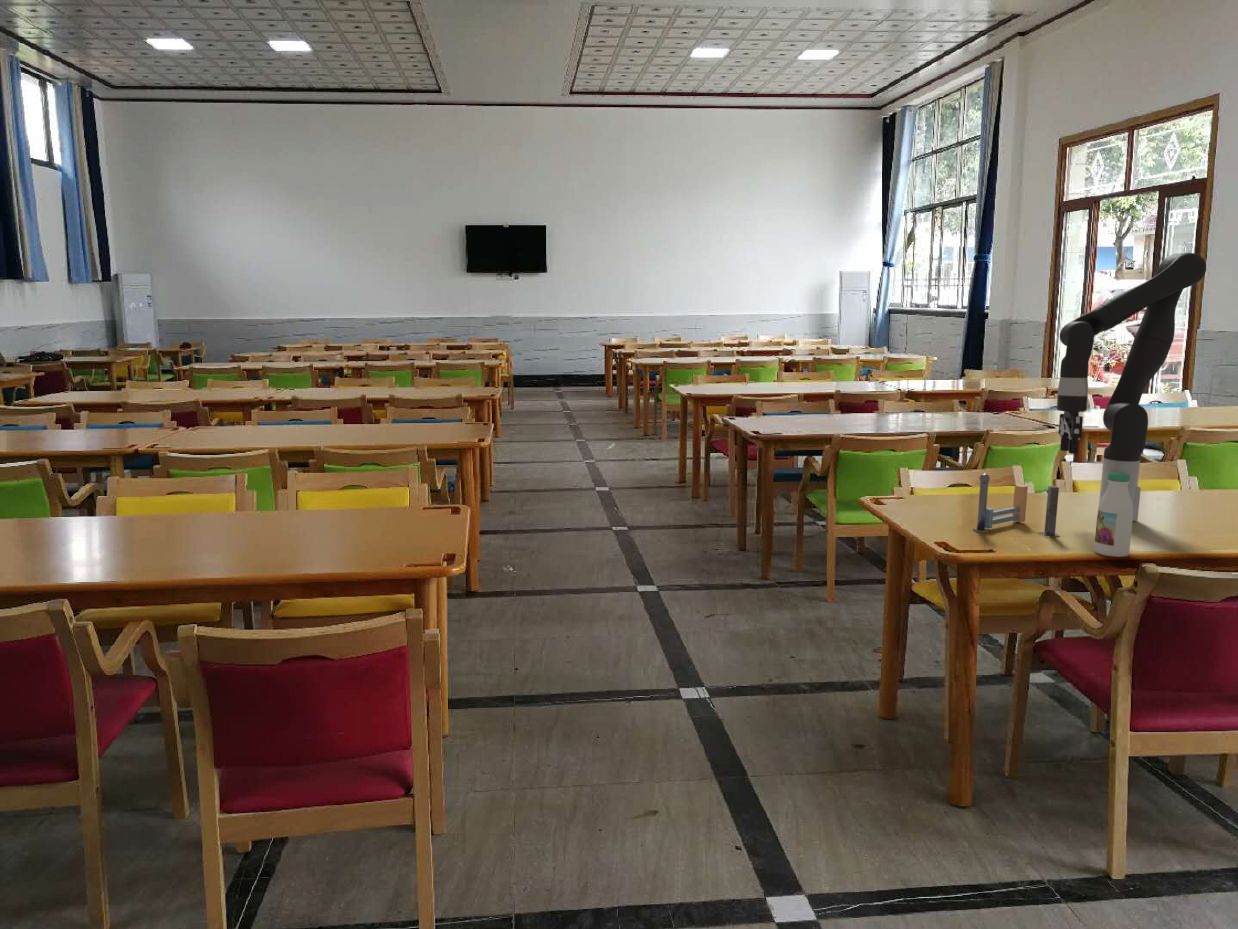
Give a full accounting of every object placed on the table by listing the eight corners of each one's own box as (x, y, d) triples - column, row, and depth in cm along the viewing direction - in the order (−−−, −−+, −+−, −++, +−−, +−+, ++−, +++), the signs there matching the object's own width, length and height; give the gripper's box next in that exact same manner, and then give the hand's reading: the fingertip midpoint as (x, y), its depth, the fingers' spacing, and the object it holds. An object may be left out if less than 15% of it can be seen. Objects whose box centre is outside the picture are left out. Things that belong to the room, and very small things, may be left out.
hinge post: (985, 529, 257) (989, 472, 254) (990, 532, 253) (995, 475, 250) (970, 529, 257) (974, 472, 254) (975, 532, 253) (980, 475, 250)
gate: (989, 528, 255) (992, 492, 253) (982, 527, 257) (984, 490, 255) (1024, 521, 264) (1027, 486, 262) (1017, 519, 266) (1019, 484, 264)
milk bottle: (1121, 549, 236) (1129, 470, 233) (1134, 558, 229) (1142, 476, 225) (1088, 549, 237) (1096, 470, 234) (1101, 557, 230) (1109, 476, 226)
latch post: (1039, 532, 253) (1043, 485, 251) (1054, 533, 253) (1058, 485, 250) (1044, 536, 249) (1048, 488, 247) (1060, 537, 249) (1064, 488, 246)
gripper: (1094, 395, 257) (1090, 455, 258) (1079, 393, 271) (1075, 450, 272) (1065, 394, 258) (1061, 454, 260) (1051, 392, 272) (1047, 449, 274)
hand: (1068, 452), depth 266 cm, fingers open, 8 cm apart
